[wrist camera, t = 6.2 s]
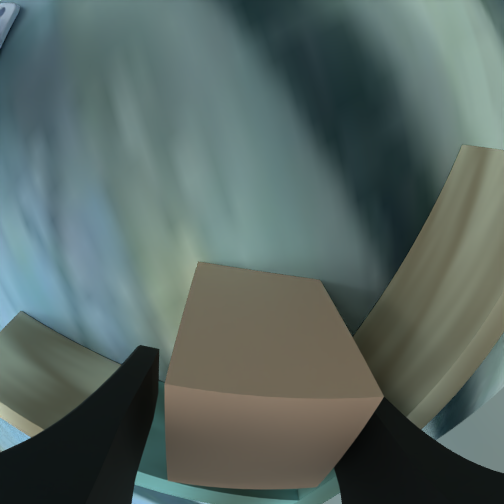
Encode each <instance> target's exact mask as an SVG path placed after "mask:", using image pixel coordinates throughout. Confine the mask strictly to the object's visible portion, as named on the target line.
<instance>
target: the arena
mask: <svg viewBox="0 0 504 504" xmlns="http://www.w3.org/2000/svg"><path fill="white" fill-rule="evenodd" d="M503 332H504V150H498V149H492V148H485V147H477V146H469V145H462V146H461V149H460V151H459V153H458V156H457V158H456V160H455V163H454V165H453V167H452V170H451V172H450V174H449V176H448V178H447V180H446V183H445V185H444V187H443V189H442V191H441V193H440V195H439V197H438V199H437V201H436V203H435V205H434V207H433V209H432V211H431V213H430V215H429V217H428V219H427V220H426V222H425V224H424V226H423V228H422V230H421V231H420V233H419V235H418V237H417V239H416V240H415V242H414V244H413V246H412V247H411V249H410V251H409V253H408V254H407V256H406V258H405V259H404V261H403V263H402V264H401V266H400V268H399V269H398V271H397V272H396V274H395V276H394V277H393V279H392V280H391V282H390V283H389V285H388V287H387V288H386V290H385V291H384V293H383V294H382V296H381V297H380V299H379V300H378V302H377V303H376V305H375V306H374V308H373V309H372V311H371V312H370V313H369V315H368V316H367V318H366V319H365V321H364V322H363V323H362V325H361V326H360V328H359V329H358V330H357V332H356V333H355V334H354V336H353V339H354V341H355V343H356V345H357V346H358V348H359V350H360V352H361V354H362V356H363V358H364V359H365V361H366V363H367V365H368V367H369V369H370V371H371V373H372V374H373V376H374V378H375V380H376V382H377V384H378V386H379V388H380V390H381V392H382V394H383V396H384V397H385V398H386V399H387V400H388V401H390V402H391V403H392V404H393V405H394V406H395V407H396V408H397V409H398V410H399V411H400V412H401V413H402V414H403V415H404V416H406V417H407V418H408V419H409V420H410V421H411V422H412V423H414V424H415V425H416V426H417V427H418V428H420V429H422V428H423V427H424V426H425V425H426V424H427V423H428V422H430V421H431V420H432V419H433V418H434V417H435V416H436V415H437V414H438V413H439V411H440V410H441V409H442V408H443V407H444V406H445V405H446V404H447V403H448V402H449V401H450V400H451V399H452V398H453V397H454V395H455V394H456V393H457V392H458V391H459V390H460V389H461V388H462V386H463V385H464V384H465V383H466V382H467V380H468V379H469V378H470V377H471V376H472V374H473V373H474V372H475V371H476V369H477V368H478V367H479V366H480V364H481V363H482V362H483V360H484V359H485V358H486V356H487V355H488V354H489V352H490V351H491V350H492V348H493V347H494V345H495V344H496V343H497V341H498V340H499V338H500V337H501V335H502V334H503ZM120 366H121V365H120V364H118V363H116V362H114V361H112V360H109V359H107V358H105V357H103V356H101V355H99V354H97V353H95V352H93V351H91V350H89V349H87V348H85V347H83V346H81V345H79V344H77V343H75V342H73V341H72V340H70V339H68V338H66V337H64V336H62V335H61V334H59V333H57V332H55V331H53V330H52V329H50V328H48V327H47V326H45V325H43V324H41V323H40V322H38V321H36V320H35V319H33V318H32V317H30V316H28V315H27V314H25V313H24V312H22V311H20V312H19V313H18V314H17V315H16V316H15V317H14V318H13V319H12V320H11V321H10V322H9V323H8V324H7V325H6V326H5V327H4V328H3V330H2V331H1V332H0V417H1V418H2V419H4V420H5V421H6V422H8V423H9V424H11V425H12V426H14V427H16V428H17V429H19V430H20V431H22V432H23V433H25V434H27V435H28V436H30V437H33V436H35V435H37V434H38V433H40V432H42V431H43V430H45V429H46V428H48V427H50V426H51V425H53V424H54V423H56V422H57V421H59V420H60V419H61V418H63V417H64V416H66V415H67V414H68V413H70V412H71V411H72V410H73V409H75V408H76V407H77V406H78V405H80V404H81V403H82V402H83V401H84V400H85V399H87V398H88V397H89V396H90V395H91V394H92V393H93V392H95V391H96V390H97V389H98V388H99V387H100V386H101V385H102V384H103V383H104V382H105V381H106V380H107V379H108V378H109V377H110V376H111V375H112V374H113V373H114V372H115V371H116V370H117V369H118V368H119V367H120ZM135 485H138V486H141V487H145V488H148V489H151V490H155V491H158V492H162V493H166V494H169V495H173V496H177V497H182V498H186V499H190V500H195V501H200V502H205V503H211V504H322V503H324V502H326V501H327V500H329V499H331V498H332V497H334V496H336V495H337V494H339V493H340V489H339V484H338V481H337V477H336V473H335V470H334V468H333V469H332V470H331V471H330V472H329V474H328V475H327V476H326V477H325V478H324V480H323V481H322V482H321V483H320V484H319V485H318V486H317V487H313V488H299V489H233V488H219V487H208V486H199V485H191V484H184V483H177V482H171V481H168V478H167V463H166V442H165V383H164V382H161V381H159V393H158V398H157V403H156V409H155V414H154V419H153V422H152V425H151V429H150V432H149V435H148V438H147V442H146V445H145V448H144V451H143V455H142V458H141V461H140V465H139V468H138V471H137V475H136V479H135Z"/></svg>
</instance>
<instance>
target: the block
mask: <svg viewBox="0 0 504 504" xmlns="http://www.w3.org/2000/svg"><path fill="white" fill-rule="evenodd" d="M383 397H384V396H383V394H382V392H381V390H380V388H379V386H378V384H377V382H376V380H375V378H374V376H373V374H372V373H371V371H370V369H369V367H368V365H367V363H366V361H365V359H364V358H363V356H362V354H361V352H360V350H359V348H358V346H357V345H356V343H355V341H354V339H353V337H352V336H351V334H350V332H349V330H348V328H347V326H346V325H345V323H344V321H343V319H342V318H341V316H340V314H339V312H338V310H337V309H336V307H335V305H334V303H333V302H332V300H331V298H330V296H329V295H328V293H327V291H326V289H325V288H324V286H323V284H322V282H321V281H320V280H317V279H310V278H303V277H296V276H289V275H283V274H276V273H269V272H262V271H256V270H249V269H242V268H236V267H229V266H223V265H217V264H210V263H204V262H198V264H197V267H196V270H195V274H194V277H193V280H192V284H191V287H190V291H189V294H188V298H187V301H186V305H185V308H184V312H183V315H182V319H181V323H180V326H179V330H178V334H177V337H176V341H175V345H174V349H173V353H172V356H171V360H170V364H169V368H168V372H167V376H166V380H165V442H166V463H167V478H168V481H171V482H177V483H184V484H191V485H199V486H208V487H219V488H233V489H299V488H313V487H317V486H318V485H319V484H320V483H321V482H322V481H323V480H324V478H325V477H326V476H327V475H328V474H329V472H330V471H331V470H332V469H333V468H334V466H335V465H336V464H337V463H338V461H339V460H340V459H341V458H342V456H343V455H344V454H345V452H346V451H347V450H348V449H349V447H350V446H351V445H352V443H353V442H354V440H355V439H356V438H357V436H358V435H359V434H360V432H361V431H362V429H363V428H364V426H365V425H366V424H367V422H368V421H369V419H370V418H371V416H372V415H373V413H374V412H375V410H376V409H377V407H378V405H379V404H380V402H381V401H382V399H383Z"/></svg>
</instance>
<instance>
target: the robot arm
mask: <svg viewBox="0 0 504 504" xmlns="http://www.w3.org/2000/svg"><path fill="white" fill-rule="evenodd" d="M19 8H20V7H19V5H17V4H15V3H0V48H1V46H2V44H3V42H4V40H5V38H6V36H7V33H8V31H9V30H10V28H11V26H12V24H13V22H14V20H15V18H16V16H17V15H18V12H19ZM158 393H159V349H156V348H151V347H147V346H142V345H140V346H138V347H137V348H136V349H135V350H134V351H133V352H132V354H131V355H130V356H129V357H128V358H127V359H126V360H125V362H124V363H123V364H122V365H121V366H120V367H119V368H118V369H117V370H116V371H115V372H114V373H113V374H112V375H111V376H110V377H109V378H108V379H107V380H106V381H105V382H104V383H103V384H102V385H101V386H100V387H99V388H98V389H97V390H96V391H95V392H93V393H92V394H91V395H90V396H89V397H88V398H87V399H85V400H84V401H83V402H82V403H81V404H80V405H78V406H77V407H76V408H75V409H73V410H72V411H71V412H70V413H68V414H67V415H66V416H64V417H63V418H61V419H60V420H59V421H57V422H56V423H54V424H53V425H51V426H50V427H48V428H46V429H45V430H43V431H42V432H40V433H38V434H37V435H35V436H33V437H31V438H30V439H28V440H26V441H24V442H22V443H20V444H18V445H15V446H13V447H11V448H9V449H7V450H4V451H2V452H0V504H131V503H132V496H133V490H134V484H135V479H136V475H137V471H138V468H139V465H140V461H141V458H142V455H143V451H144V448H145V445H146V442H147V438H148V435H149V432H150V429H151V425H152V422H153V419H154V414H155V409H156V403H157V398H158ZM334 470H335V473H336V477H337V481H338V484H339V489H340V493H341V500H342V504H504V473H500V472H497V471H493V470H491V469H488V468H485V467H483V466H481V465H478V464H476V463H474V462H471V461H469V460H467V459H465V458H463V457H461V456H460V455H458V454H456V453H454V452H452V451H451V450H449V449H447V448H446V447H444V446H443V445H441V444H440V443H438V442H437V441H436V440H434V439H433V438H431V437H430V436H428V435H427V434H426V433H425V432H423V431H422V430H421V429H420V428H418V427H417V426H416V425H415V424H414V423H412V422H411V421H410V420H409V419H408V418H407V417H406V416H404V415H403V414H402V413H401V412H400V411H399V410H398V409H397V408H396V407H395V406H394V405H393V404H392V403H391V402H390V401H388V400H387V399H386V398H385V397H383V399H382V401H381V402H380V404H379V405H378V407H377V409H376V410H375V412H374V413H373V415H372V416H371V418H370V419H369V421H368V422H367V424H366V425H365V426H364V428H363V429H362V431H361V432H360V434H359V435H358V436H357V438H356V439H355V440H354V442H353V443H352V445H351V446H350V447H349V449H348V450H347V451H346V452H345V454H344V455H343V456H342V458H341V459H340V460H339V461H338V463H337V464H336V465H335V466H334Z"/></svg>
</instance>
